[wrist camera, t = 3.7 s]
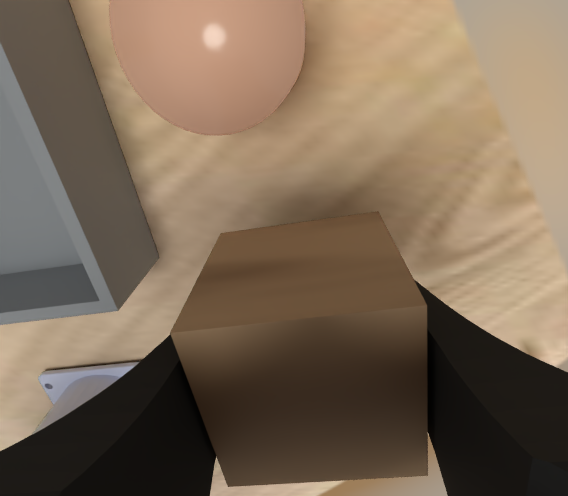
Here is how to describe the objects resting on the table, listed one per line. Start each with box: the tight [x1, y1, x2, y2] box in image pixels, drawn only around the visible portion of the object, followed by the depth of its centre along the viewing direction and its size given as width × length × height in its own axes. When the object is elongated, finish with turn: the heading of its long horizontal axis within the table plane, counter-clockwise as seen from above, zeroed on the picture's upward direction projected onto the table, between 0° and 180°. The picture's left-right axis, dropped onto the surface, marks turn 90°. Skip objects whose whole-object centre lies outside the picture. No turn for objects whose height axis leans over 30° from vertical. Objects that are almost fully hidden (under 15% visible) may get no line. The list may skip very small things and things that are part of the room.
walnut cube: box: [170, 211, 428, 487], centre depth 10 cm, size 5×5×5 cm
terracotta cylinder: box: [109, 0, 306, 135], centre depth 13 cm, size 5×5×7 cm
